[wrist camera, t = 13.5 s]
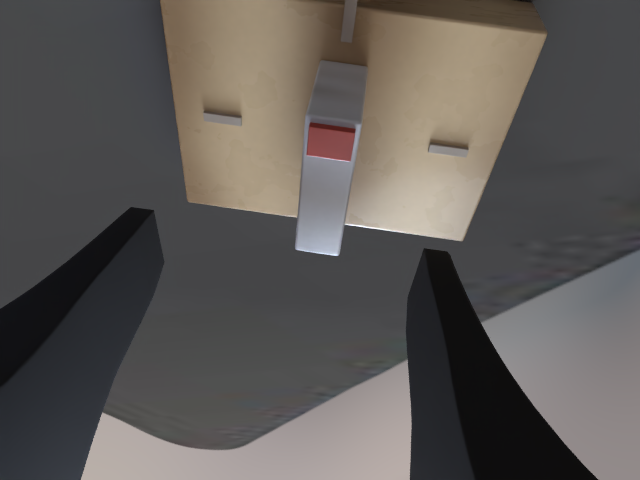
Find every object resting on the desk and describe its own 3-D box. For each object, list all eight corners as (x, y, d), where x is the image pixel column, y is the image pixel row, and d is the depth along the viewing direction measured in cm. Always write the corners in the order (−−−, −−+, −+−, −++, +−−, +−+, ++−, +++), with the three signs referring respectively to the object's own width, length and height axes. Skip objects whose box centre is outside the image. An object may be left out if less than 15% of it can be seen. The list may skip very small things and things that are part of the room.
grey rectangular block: (347, 194, 20) (338, 262, 18) (307, 188, 20) (293, 255, 18) (368, 65, 16) (361, 127, 14) (320, 58, 16) (303, 119, 14)
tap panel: (203, 173, 24) (186, 211, 22) (180, -56, 17) (152, -31, 15) (456, 210, 23) (461, 250, 22) (538, -9, 16) (555, 22, 15)
